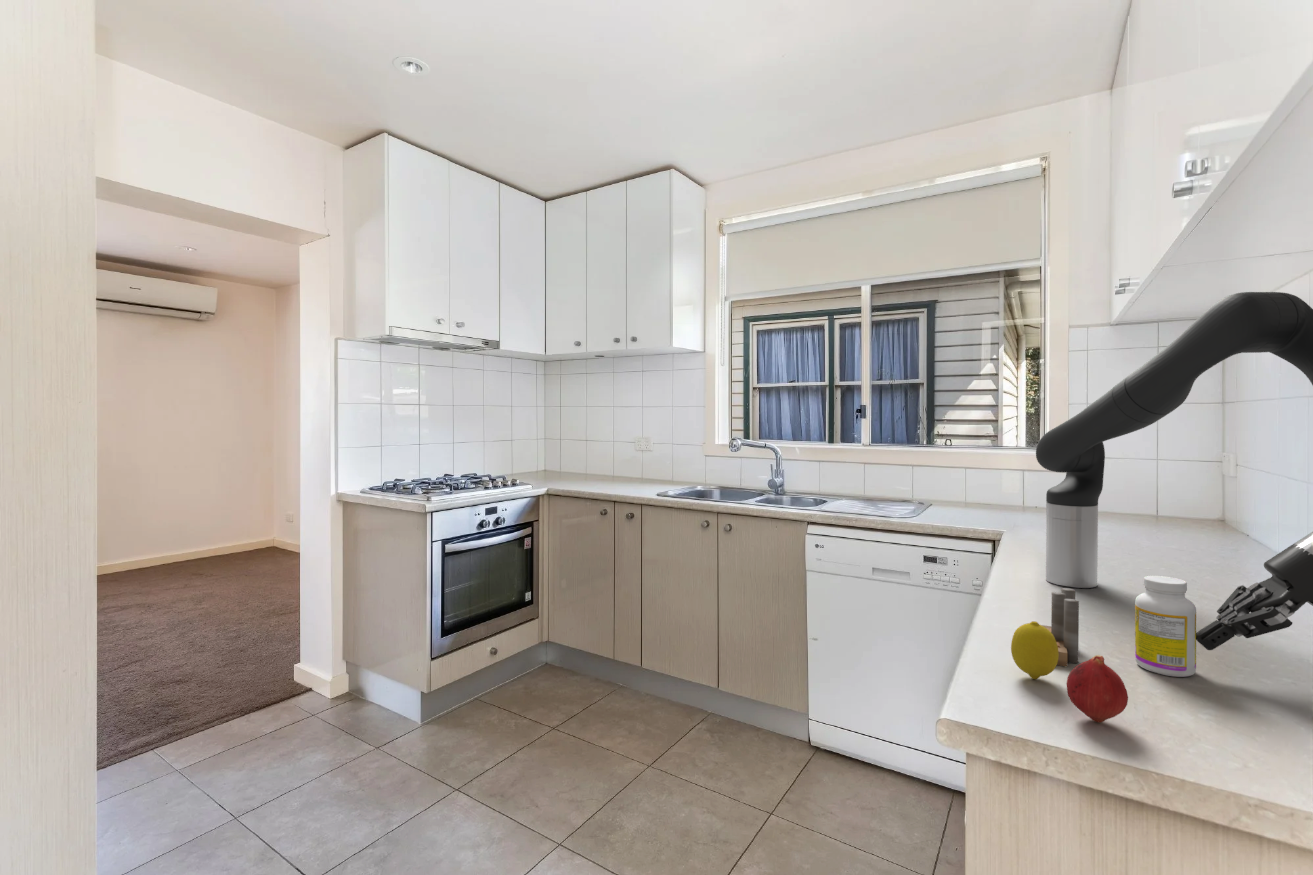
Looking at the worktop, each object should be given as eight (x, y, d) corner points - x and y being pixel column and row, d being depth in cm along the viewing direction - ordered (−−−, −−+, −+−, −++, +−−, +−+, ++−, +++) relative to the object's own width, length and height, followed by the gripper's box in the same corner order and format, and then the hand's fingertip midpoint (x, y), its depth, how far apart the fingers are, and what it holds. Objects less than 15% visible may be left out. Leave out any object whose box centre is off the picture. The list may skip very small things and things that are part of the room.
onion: (1067, 725, 70) (1068, 658, 70) (1064, 705, 75) (1065, 642, 75) (1130, 739, 67) (1131, 668, 67) (1123, 717, 72) (1124, 651, 72)
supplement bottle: (1157, 657, 89) (1158, 572, 89) (1208, 675, 83) (1209, 583, 83) (1122, 662, 88) (1123, 575, 87) (1171, 681, 81) (1172, 587, 81)
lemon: (1047, 672, 85) (1048, 616, 84) (1065, 689, 79) (1066, 629, 79) (1004, 669, 86) (1005, 614, 86) (1019, 686, 80) (1020, 627, 80)
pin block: (1029, 635, 99) (1030, 581, 99) (1073, 641, 96) (1073, 586, 96) (1031, 660, 89) (1031, 600, 88) (1080, 668, 86) (1080, 606, 85)
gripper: (1278, 534, 84) (1165, 608, 90) (1320, 552, 72) (1187, 636, 79) (1332, 576, 81) (1211, 649, 88) (1385, 602, 70) (1242, 684, 76)
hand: (1200, 643), depth 83 cm, fingers closed
